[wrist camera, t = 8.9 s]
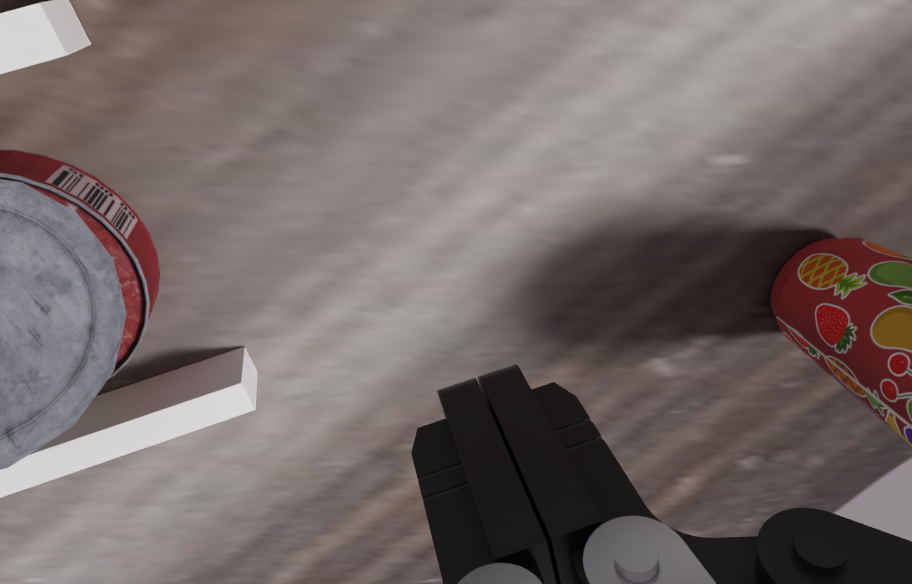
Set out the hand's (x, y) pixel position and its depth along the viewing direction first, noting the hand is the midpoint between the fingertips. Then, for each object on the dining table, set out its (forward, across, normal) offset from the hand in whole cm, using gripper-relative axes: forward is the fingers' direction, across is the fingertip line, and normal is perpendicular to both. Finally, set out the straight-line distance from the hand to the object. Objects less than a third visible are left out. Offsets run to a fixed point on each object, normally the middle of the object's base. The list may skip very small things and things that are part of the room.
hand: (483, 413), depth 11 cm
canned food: (+18, +15, +1) cm, 24 cm away
